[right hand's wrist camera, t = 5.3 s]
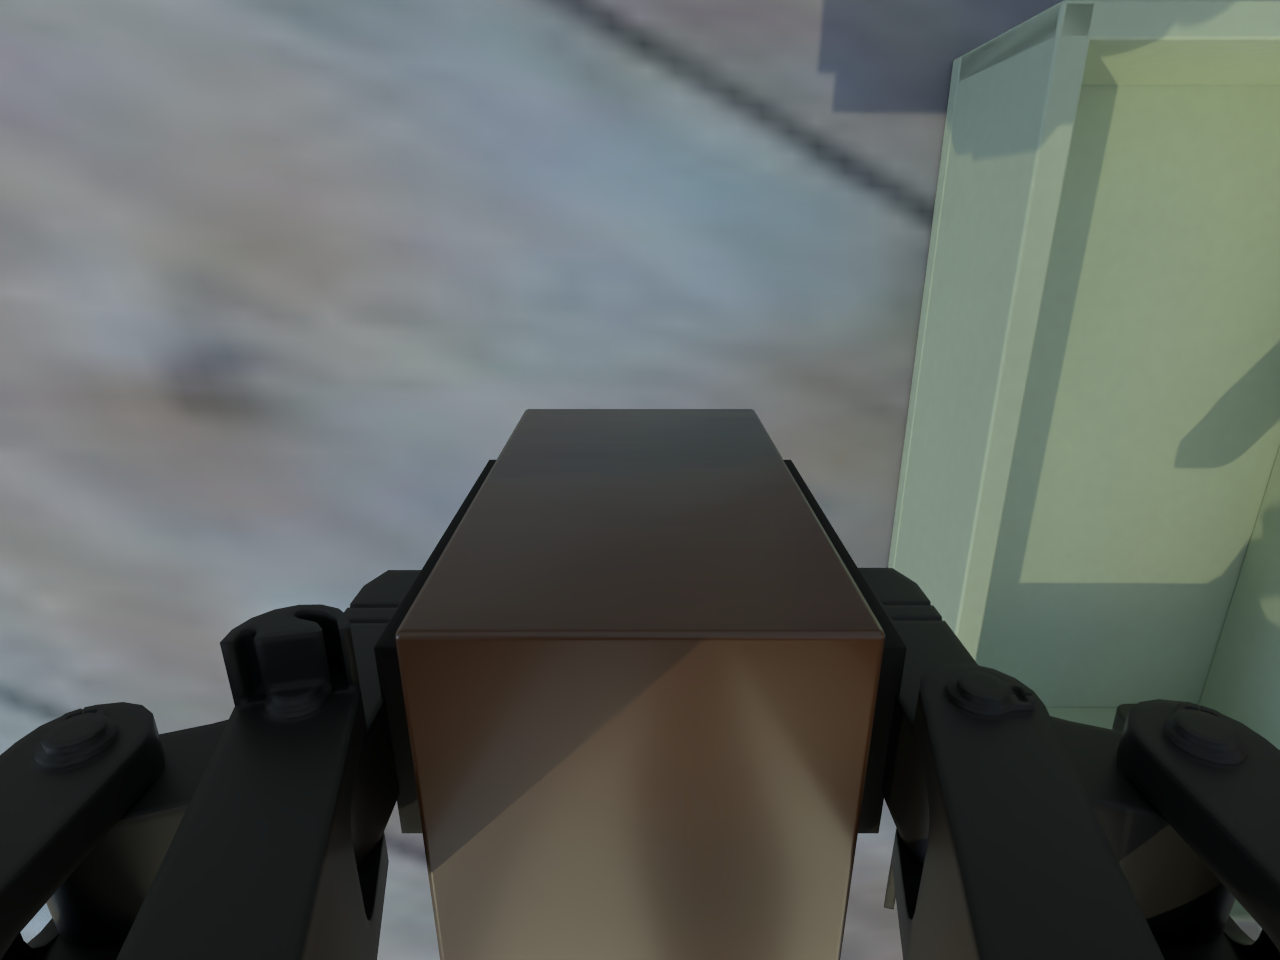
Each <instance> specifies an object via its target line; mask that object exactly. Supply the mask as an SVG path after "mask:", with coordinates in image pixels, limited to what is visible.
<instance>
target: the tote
mask: <svg viewBox="0 0 1280 960" xmlns="http://www.w3.org/2000/svg"><path fill="white" fill-rule="evenodd" d="M888 568H893V569H895V570H896V571H898V572H900V573H901V574H903V575H904V576H906V577H907V578H909V579H911V580H912V581H914V582H915V583H917V584H918V586H919V587H920V588H921V590H922V591H923V592H924V594H925V595H926V596H927V598H928V599H929V600H930V602H931V605H933V606H934V607H935V608H936V610H937V611H938V612H939V614H940V615H941V616H942V621H946V623H947V624H948V625H949V627H950V628H951V629H952V631H953V632H954V633H955V635H956V636H957V637H958V639H959V640H960V641H961V643H962V644H963V645H964V647H965V648H966V649H967V651H968V652H969V653H970V655H971V656H972V657H973V659H974V660H975V661H976V663H977V664H978V665H979V666H983V667H988V668H992V669H995V670H997V671H1000V672H1002V673H1004V674H1007V675H1009V676H1011V677H1014V678H1016V679H1017V680H1019V681H1020V682H1022V683H1023V684H1024V685H1026V686H1027V687H1029V688H1030V689H1032V690H1033V691H1034V692H1035V693H1036V694H1037V696H1038V697H1039V698H1040V700H1041V701H1042V702H1043V703H1044V705H1045V706H1046V709H1047V711H1048V713H1049V715H1050V716H1052V717H1056V718H1060V719H1064V720H1068V721H1072V722H1077V723H1082V724H1087V725H1092V726H1097V727H1102V728H1107V729H1112V726H1113V722H1114V718H1115V714H1116V710H1117V707H1118V706H1119V705H1121V704H1136V703H1139V702H1143V701H1149V700H1156V699H1163V700H1173V701H1183V702H1191V703H1194V704H1197V705H1199V706H1201V705H1202V706H1205V707H1208V708H1211V709H1214V710H1216V711H1218V712H1220V713H1221V714H1223V715H1225V716H1228V717H1230V718H1232V719H1234V720H1236V721H1239V722H1241V723H1243V724H1244V725H1246V726H1247V727H1249V728H1250V729H1252V730H1253V731H1255V732H1256V733H1258V734H1259V735H1261V736H1262V737H1264V738H1265V739H1266V740H1268V741H1269V742H1270V743H1271V744H1273V745H1274V746H1275V747H1276V748H1277V749H1279V750H1280V0H1063V1H1061V2H1059V3H1057V4H1056V5H1054V6H1052V7H1050V8H1048V9H1046V10H1045V11H1043V12H1041V13H1039V14H1037V15H1035V16H1034V17H1032V18H1030V19H1028V20H1026V21H1025V22H1023V23H1021V24H1019V25H1017V26H1015V27H1014V28H1012V29H1010V30H1008V31H1006V32H1004V33H1003V34H1001V35H999V36H997V37H995V38H993V39H992V40H990V41H988V42H986V43H984V44H982V45H981V46H979V47H977V48H975V49H973V50H971V51H970V52H968V53H966V54H964V55H962V56H960V57H958V58H957V59H955V60H954V61H953V68H952V76H951V84H950V91H949V99H948V107H947V115H946V122H945V130H944V138H943V145H942V153H941V161H940V169H939V176H938V184H937V192H936V200H935V207H934V215H933V223H932V231H931V238H930V246H929V254H928V262H927V269H926V277H925V285H924V293H923V300H922V308H921V316H920V324H919V331H918V339H917V347H916V355H915V362H914V370H913V378H912V386H911V393H910V401H909V409H908V416H907V424H906V432H905V440H904V447H903V455H902V463H901V471H900V478H899V486H898V494H897V502H896V509H895V517H894V525H893V533H892V540H891V548H890V556H889V564H888Z"/></svg>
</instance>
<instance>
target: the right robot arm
mask: <svg viewBox="0 0 1280 960" xmlns="http://www.w3.org/2000/svg"><path fill="white" fill-rule="evenodd" d="M495 462H496V460H489V462H488V463H487V465H486V467H485V468H484V470H483V471H482V473H481V475H480V476H479V478H478V479H477V481H476V483H475V484H474V486H473V488H472V489H471V491H470V492H469V494H468V496H467V497H466V499H465V501H464V502H463V504H462V505H461V507H460V509H459V510H458V512H457V514H456V515H455V517H454V518H453V520H452V522H451V523H450V525H449V527H448V528H447V530H446V531H445V533H444V535H443V536H442V538H441V539H440V541H439V543H438V544H437V546H436V548H435V549H434V551H433V552H432V554H431V556H430V557H429V559H428V561H427V562H426V564H425V565H424V567H423V569H422V570H388V571H386V572H385V573H383V574H382V575H380V576H379V577H377V578H375V579H374V580H372V581H371V582H369V583H368V584H366V585H365V586H363V588H362V589H361V590H360V592H359V593H358V594H357V596H356V597H355V598H354V600H353V601H352V603H351V604H350V608H347V609H346V611H345V612H344V613H343V612H342V611H341V610H340V609H338V608H334V607H329V606H325V605H296V606H291V607H286V608H281V609H276V610H273V611H270V612H267V613H264V614H262V615H259V616H256V617H253V618H251V619H249V620H248V621H246V622H244V623H243V624H241V625H239V626H237V627H236V628H234V629H232V630H231V631H230V632H229V634H228V635H227V636H226V637H225V638H224V639H223V640H222V641H221V642H220V645H221V649H222V653H223V658H224V662H225V666H226V670H227V674H228V678H229V683H230V687H231V691H232V695H233V699H234V703H235V708H234V710H233V712H232V714H231V716H230V718H229V720H225V721H221V722H217V723H214V724H209V725H204V726H199V727H194V728H189V729H184V730H179V731H174V732H169V733H164V734H158V730H157V727H156V723H155V720H154V716H153V714H152V713H151V712H150V711H149V710H147V709H146V708H145V707H144V706H143V705H138V704H131V703H125V702H120V703H110V704H101V705H94V706H89V707H85V708H84V709H78V710H75V711H72V712H69V713H66V714H64V715H63V716H61V717H59V718H57V719H55V720H53V721H50V722H48V723H46V724H44V725H42V726H40V727H38V728H37V729H35V730H34V731H32V732H31V733H29V734H28V735H26V736H25V737H23V738H22V739H20V740H19V741H17V742H16V743H15V744H13V745H12V746H11V747H10V748H9V749H7V750H6V751H5V752H4V753H3V754H1V755H0V960H377V954H378V946H379V937H380V929H381V920H382V912H383V904H384V895H385V887H386V878H387V870H388V854H387V847H386V841H385V834H384V830H385V827H386V825H387V823H388V820H389V818H390V815H391V813H392V810H393V808H394V806H395V803H396V801H397V803H398V810H399V816H400V823H401V829H402V833H423V832H422V825H421V818H420V811H419V804H418V797H417V789H416V782H415V775H414V768H413V761H412V754H411V747H410V739H409V732H408V725H407V718H406V711H405V704H404V697H403V689H402V682H401V675H400V668H399V661H398V654H397V647H396V639H395V635H396V632H397V630H398V628H399V626H400V625H401V623H402V621H403V619H404V618H405V616H406V614H407V613H408V611H409V609H410V607H411V606H412V604H413V602H414V601H415V599H416V597H417V596H418V594H419V592H420V590H421V589H422V587H423V585H424V584H425V582H426V580H427V578H428V577H429V575H430V573H431V572H432V570H433V568H434V566H435V565H436V563H437V561H438V560H439V558H440V556H441V554H442V553H443V551H444V549H445V548H446V546H447V544H448V542H449V541H450V539H451V537H452V536H453V534H454V532H455V530H456V529H457V527H458V525H459V524H460V522H461V520H462V519H463V517H464V515H465V513H466V512H467V510H468V508H469V507H470V505H471V503H472V501H473V500H474V498H475V496H476V495H477V493H478V491H479V489H480V488H481V486H482V484H483V483H484V481H485V479H486V477H487V476H488V474H489V472H490V471H491V469H492V467H493V465H494V464H495ZM784 462H785V464H786V466H787V467H788V469H789V471H790V472H791V474H792V476H793V478H794V479H795V481H796V483H797V484H798V486H799V488H800V489H801V491H802V493H803V495H804V496H805V498H806V500H807V501H808V503H809V505H810V506H811V508H812V510H813V512H814V513H815V515H816V517H817V518H818V520H819V522H820V523H821V525H822V527H823V529H824V530H825V532H826V534H827V535H828V537H829V539H830V540H831V542H832V544H833V546H834V547H835V549H836V551H837V552H838V554H839V556H840V557H841V559H842V561H843V563H844V564H845V566H846V568H847V569H848V571H849V573H850V575H851V576H852V578H853V580H854V581H855V583H856V585H857V586H858V588H859V590H860V592H861V593H862V595H863V597H864V598H865V600H866V602H867V603H868V605H869V607H870V609H871V610H872V612H873V614H874V615H875V617H876V619H877V620H878V622H879V624H880V626H881V627H882V629H883V631H884V634H885V642H884V649H883V656H882V663H881V670H880V677H879V685H878V692H877V699H876V706H875V713H874V720H873V727H872V734H871V742H870V749H869V756H868V763H867V770H866V777H865V784H864V792H863V799H862V806H861V813H860V820H859V827H858V833H878V832H879V826H880V819H881V813H882V806H883V800H884V799H885V801H886V803H887V806H888V808H889V810H890V813H891V815H892V818H893V820H894V822H895V825H896V827H897V828H896V834H895V841H894V847H893V853H892V859H891V865H890V871H889V877H888V883H887V889H886V896H885V903H884V908H889V909H894V904H895V898H896V902H897V910H898V919H899V927H900V936H901V944H902V952H903V960H1280V750H1279V749H1277V748H1276V747H1275V746H1274V745H1273V744H1271V743H1270V742H1269V741H1268V740H1266V739H1265V738H1264V737H1262V736H1261V735H1259V734H1258V733H1256V732H1255V731H1253V730H1252V729H1250V728H1249V727H1247V726H1246V725H1244V724H1243V723H1241V722H1239V721H1236V720H1234V719H1232V718H1230V717H1228V716H1225V715H1223V714H1221V713H1220V712H1218V711H1216V710H1214V709H1211V708H1208V707H1205V706H1202V705H1201V706H1198V705H1197V704H1194V703H1189V702H1183V701H1173V700H1163V699H1156V700H1149V701H1143V702H1139V703H1138V704H1136V705H1135V706H1134V707H1133V708H1131V709H1130V710H1129V712H1128V715H1127V718H1126V722H1125V725H1124V729H1123V732H1122V731H1117V730H1112V729H1107V728H1102V727H1097V726H1092V725H1087V724H1082V723H1077V722H1072V721H1068V720H1064V719H1060V718H1056V717H1052V716H1050V715H1049V713H1048V711H1047V709H1046V706H1045V705H1044V703H1043V702H1042V701H1041V700H1040V698H1039V697H1038V696H1037V694H1036V693H1035V692H1034V691H1033V690H1032V689H1030V688H1029V687H1027V686H1026V685H1024V684H1023V683H1022V682H1020V681H1019V680H1017V679H1016V678H1014V677H1011V676H1009V675H1007V674H1004V673H1002V672H1000V671H997V670H995V669H992V668H988V667H983V666H979V665H978V664H977V663H976V661H975V660H974V659H973V657H972V656H971V655H970V653H969V652H968V651H967V649H966V648H965V647H964V645H963V644H962V643H961V641H960V640H959V639H958V637H957V636H956V635H955V633H954V632H953V631H952V629H951V628H950V627H949V625H948V624H947V623H946V621H942V616H941V615H940V614H939V612H938V611H937V610H936V608H935V607H934V606H933V605H931V602H930V600H929V599H928V598H927V596H926V595H925V594H924V592H923V591H922V590H921V588H920V587H919V586H918V584H917V583H915V582H914V581H912V580H911V579H909V578H907V577H906V576H904V575H903V574H901V573H900V572H898V571H896V570H895V569H893V568H857V566H856V565H855V563H854V561H853V560H852V558H851V557H850V555H849V553H848V552H847V550H846V548H845V547H844V545H843V544H842V542H841V540H840V539H839V537H838V535H837V534H836V532H835V531H834V529H833V527H832V526H831V524H830V523H829V521H828V519H827V518H826V516H825V514H824V513H823V511H822V510H821V508H820V506H819V505H818V503H817V501H816V500H815V498H814V497H813V495H812V493H811V492H810V490H809V489H808V487H807V485H806V484H805V482H804V480H803V479H802V477H801V476H800V474H799V472H798V471H797V469H796V467H795V466H794V464H793V463H792V461H791V460H784ZM1235 900H1237V901H1238V902H1239V903H1240V904H1241V905H1242V906H1243V907H1244V909H1245V910H1246V911H1247V912H1248V913H1249V914H1250V915H1251V916H1252V918H1253V919H1254V920H1255V921H1256V922H1257V923H1258V924H1259V926H1260V927H1261V928H1262V930H1261V933H1260V935H1259V938H1258V939H1257V940H1256V941H1254V940H1252V939H1251V938H1250V937H1249V936H1248V935H1247V934H1246V933H1245V932H1244V931H1243V930H1241V928H1240V927H1239V926H1238V925H1237V924H1236V923H1235V921H1234V920H1233V919H1232V918H1231V917H1230V916H1229V915H1230V912H1231V910H1232V907H1233V905H1234V902H1235ZM45 903H47V905H48V908H49V910H50V913H51V915H52V919H51V920H50V922H49V923H48V924H47V925H46V926H45V927H44V929H43V930H42V931H41V932H40V933H39V934H38V935H37V936H35V937H34V938H33V939H32V940H31V941H30V942H28V943H26V942H24V941H23V938H22V936H21V933H20V932H21V931H22V929H23V928H24V927H25V926H26V925H27V924H28V923H29V922H30V920H31V919H32V918H33V917H34V916H35V915H36V914H37V912H38V911H39V910H40V909H41V908H42V907H43V906H44V904H45Z"/></svg>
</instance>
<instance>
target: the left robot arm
mask: <svg viewBox="0 0 1280 960" xmlns="http://www.w3.org/2000/svg"><path fill="white" fill-rule="evenodd" d="M1189 703H1191V702H1189ZM1136 704H1138V703H1136ZM1136 704H1121V705H1119V706H1118V707H1117V710H1116V714H1115V718H1114V722H1113V726H1112V730H1117V731H1122V732H1123V729H1124V725H1125V722H1126V718H1127V715H1128V712H1129V710H1130V709H1131V708H1133V707H1134V706H1135V705H1136ZM1198 706H1199V705H1198ZM1229 916H1230V917H1231V918H1232V919H1233V920H1234V921H1235V923H1236V924H1237V925H1238V926H1239V927H1240V928H1241V930H1243V931H1244V932H1245V933H1246V934H1247V935H1248V936H1249V937H1250V938H1251V939H1252V940H1254V941H1256V940H1257V939H1258V938H1259V935H1260V933H1261V930H1262V928H1261V927H1260V926H1259V924H1258V923H1257V922H1256V921H1255V920H1254V919H1253V918H1252V916H1251V915H1250V914H1249V913H1248V912H1247V911H1246V910H1245V909H1244V907H1243V906H1242V905H1241V904H1240V903H1239V902H1238V901H1237V900H1235V902H1234V905H1233V907H1232V910H1231V912H1230V915H1229Z"/></svg>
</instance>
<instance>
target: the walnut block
mask: <svg viewBox="0 0 1280 960" xmlns="http://www.w3.org/2000/svg"><path fill="white" fill-rule="evenodd" d="M395 639H396V647H397V654H398V661H399V668H400V675H401V682H402V689H403V697H404V704H405V711H406V718H407V725H408V732H409V739H410V747H411V754H412V761H413V768H414V775H415V782H416V789H417V797H418V804H419V811H420V818H421V825H422V832H423V839H424V847H425V854H426V861H427V868H428V875H429V882H430V889H431V897H432V904H433V911H434V918H435V925H436V932H437V939H438V947H439V954H440V960H840V956H841V949H842V942H843V934H844V927H845V920H846V913H847V906H848V899H849V892H850V884H851V877H852V870H853V863H854V856H855V849H856V842H857V834H858V827H859V820H860V813H861V806H862V799H863V792H864V784H865V777H866V770H867V763H868V756H869V749H870V742H871V734H872V727H873V720H874V713H875V706H876V699H877V692H878V685H879V677H880V670H881V663H882V656H883V649H884V642H885V634H884V631H883V629H882V627H881V626H880V624H879V622H878V620H877V619H876V617H875V615H874V614H873V612H872V610H871V609H870V607H869V605H868V603H867V602H866V600H865V598H864V597H863V595H862V593H861V592H860V590H859V588H858V586H857V585H856V583H855V581H854V580H853V578H852V576H851V575H850V573H849V571H848V569H847V568H846V566H845V564H844V563H843V561H842V559H841V557H840V556H839V554H838V552H837V551H836V549H835V547H834V546H833V544H832V542H831V540H830V539H829V537H828V535H827V534H826V532H825V530H824V529H823V527H822V525H821V523H820V522H819V520H818V518H817V517H816V515H815V513H814V512H813V510H812V508H811V506H810V505H809V503H808V501H807V500H806V498H805V496H804V495H803V493H802V491H801V489H800V488H799V486H798V484H797V483H796V481H795V479H794V478H793V476H792V474H791V472H790V471H789V469H788V467H787V466H786V464H785V462H784V460H783V459H782V457H781V455H780V454H779V452H778V450H777V449H776V447H775V445H774V443H773V442H772V440H771V438H770V437H769V435H768V433H767V432H766V430H765V428H764V426H763V425H762V423H761V421H760V420H759V418H758V416H757V415H756V413H755V411H754V410H752V409H528V410H526V411H525V412H524V414H523V416H522V418H521V419H520V421H519V423H518V424H517V426H516V428H515V430H514V431H513V433H512V435H511V436H510V438H509V440H508V442H507V443H506V445H505V447H504V448H503V450H502V452H501V453H500V455H499V457H498V459H497V460H496V462H495V464H494V465H493V467H492V469H491V471H490V472H489V474H488V476H487V477H486V479H485V481H484V483H483V484H482V486H481V488H480V489H479V491H478V493H477V495H476V496H475V498H474V500H473V501H472V503H471V505H470V507H469V508H468V510H467V512H466V513H465V515H464V517H463V519H462V520H461V522H460V524H459V525H458V527H457V529H456V530H455V532H454V534H453V536H452V537H451V539H450V541H449V542H448V544H447V546H446V548H445V549H444V551H443V553H442V554H441V556H440V558H439V560H438V561H437V563H436V565H435V566H434V568H433V570H432V572H431V573H430V575H429V577H428V578H427V580H426V582H425V584H424V585H423V587H422V589H421V590H420V592H419V594H418V596H417V597H416V599H415V601H414V602H413V604H412V606H411V607H410V609H409V611H408V613H407V614H406V616H405V618H404V619H403V621H402V623H401V625H400V626H399V628H398V630H397V632H396V635H395Z"/></svg>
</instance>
